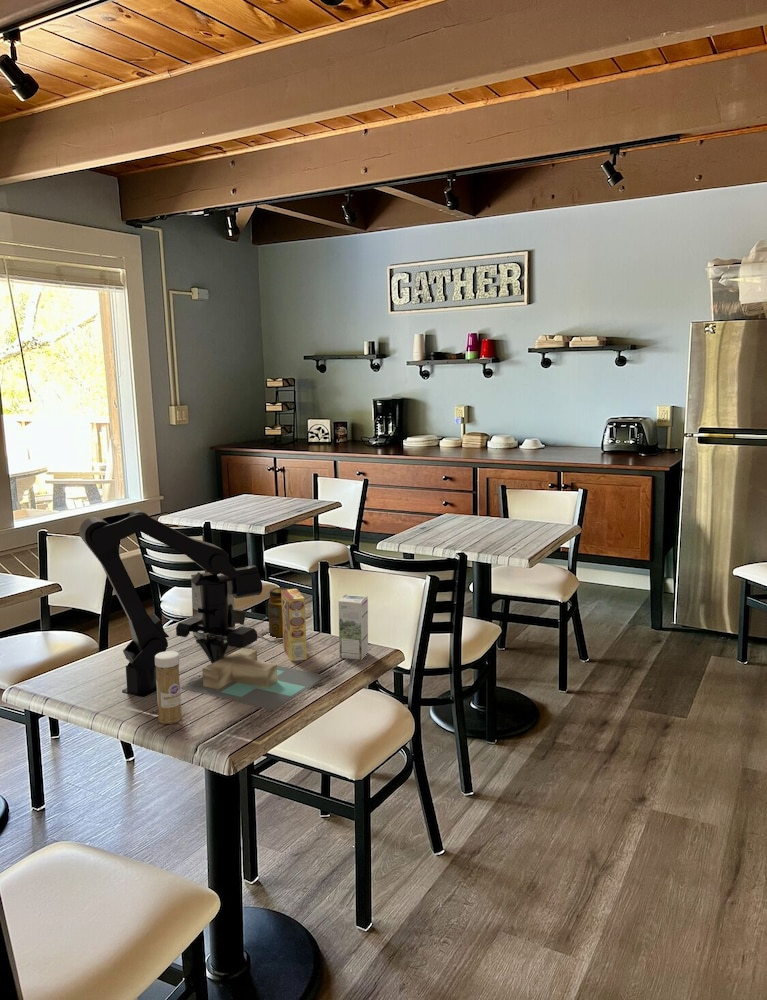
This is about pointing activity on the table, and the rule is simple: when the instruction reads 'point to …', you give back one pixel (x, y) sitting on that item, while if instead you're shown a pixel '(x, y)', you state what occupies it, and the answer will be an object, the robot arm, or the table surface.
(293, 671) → the push mat
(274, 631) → the condiment
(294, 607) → the candy box
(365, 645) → the syrup box
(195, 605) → the coffee box
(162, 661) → the sprinkles bottle
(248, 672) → the t block
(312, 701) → the table surface
